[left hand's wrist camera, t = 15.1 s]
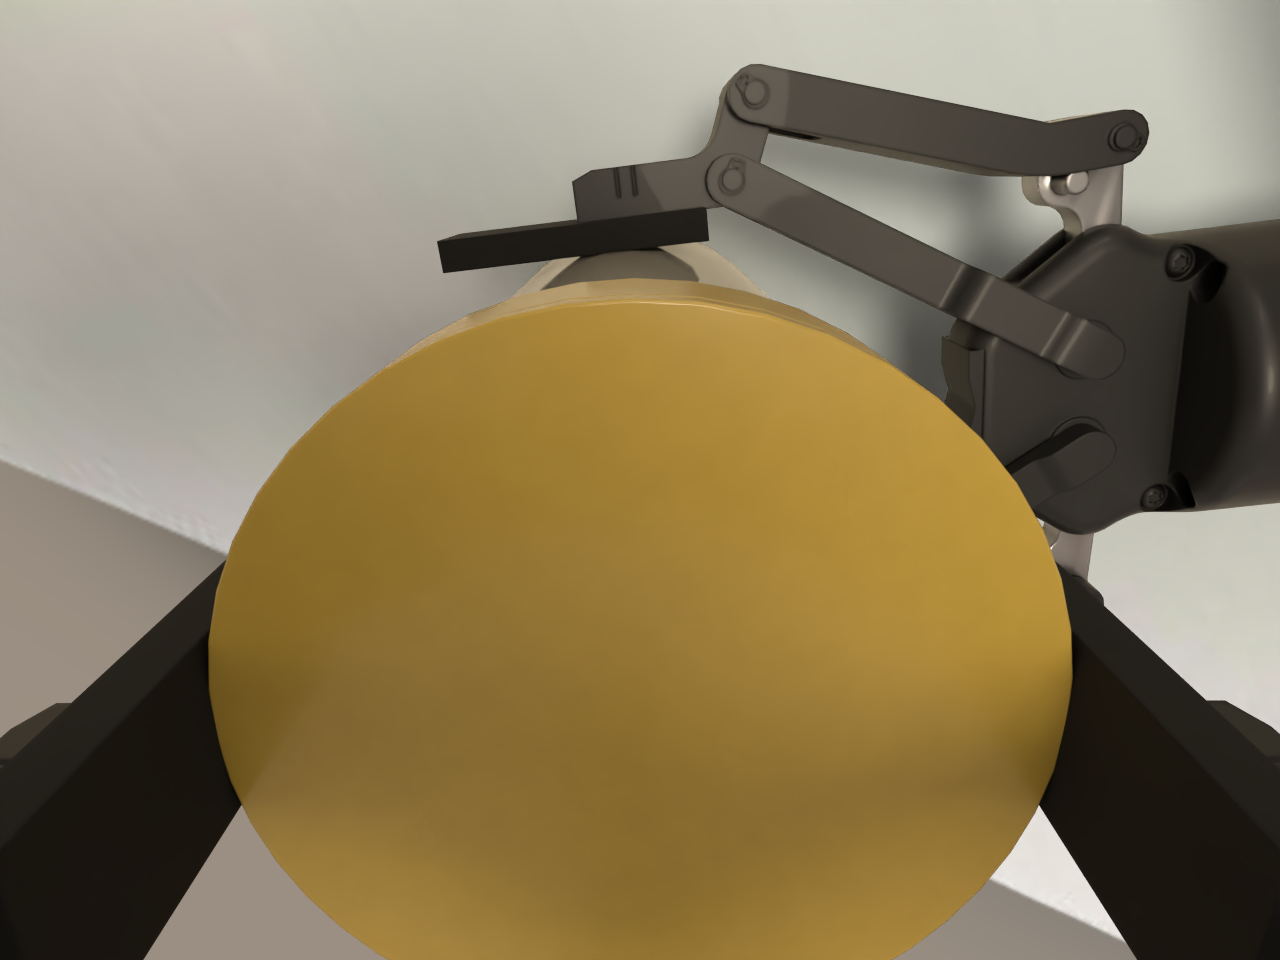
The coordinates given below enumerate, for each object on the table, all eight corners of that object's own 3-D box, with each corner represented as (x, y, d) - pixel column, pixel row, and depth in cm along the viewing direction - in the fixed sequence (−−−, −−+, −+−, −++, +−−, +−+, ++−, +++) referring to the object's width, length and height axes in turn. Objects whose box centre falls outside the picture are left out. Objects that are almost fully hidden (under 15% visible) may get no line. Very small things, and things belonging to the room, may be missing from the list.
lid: (756, 1004, 15) (772, 1115, 13) (172, 766, 13) (98, 859, 11) (1169, 521, 12) (1265, 584, 10) (460, 105, 10) (420, 89, 8)
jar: (462, 457, 30) (202, 871, 12) (549, 182, 27) (366, 197, 9) (716, 545, 31) (820, 1037, 13) (830, 293, 28) (1168, 504, 10)
